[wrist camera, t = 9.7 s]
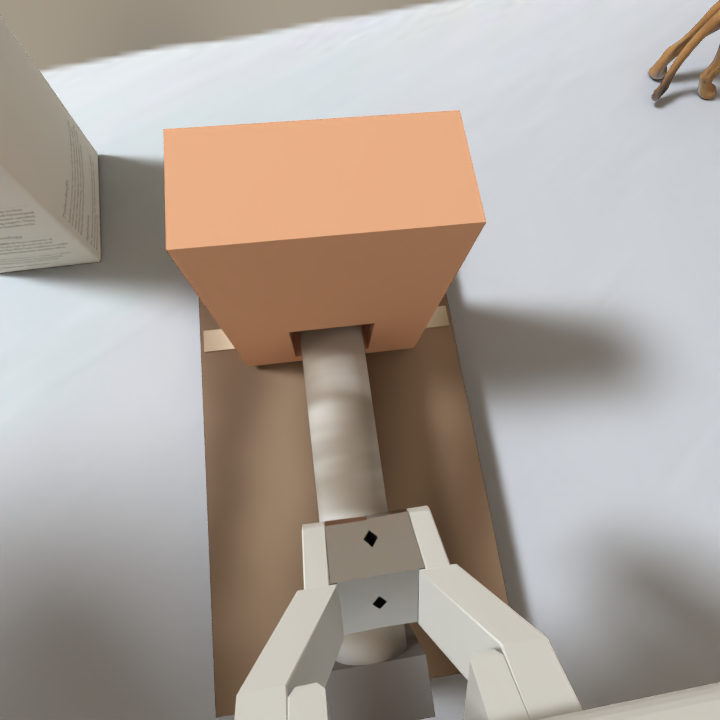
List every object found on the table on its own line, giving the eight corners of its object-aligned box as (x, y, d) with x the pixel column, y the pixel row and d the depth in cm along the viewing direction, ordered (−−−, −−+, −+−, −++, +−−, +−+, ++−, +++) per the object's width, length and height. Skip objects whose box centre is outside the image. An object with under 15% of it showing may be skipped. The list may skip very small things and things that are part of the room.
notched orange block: (247, 366, 24) (165, 249, 12) (243, 297, 25) (163, 129, 13) (413, 347, 25) (486, 221, 13) (402, 281, 26) (459, 110, 14)
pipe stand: (223, 701, 21) (183, 781, 15) (202, 235, 28) (168, 169, 22) (508, 651, 22) (568, 707, 17) (422, 216, 29) (445, 150, 23)
